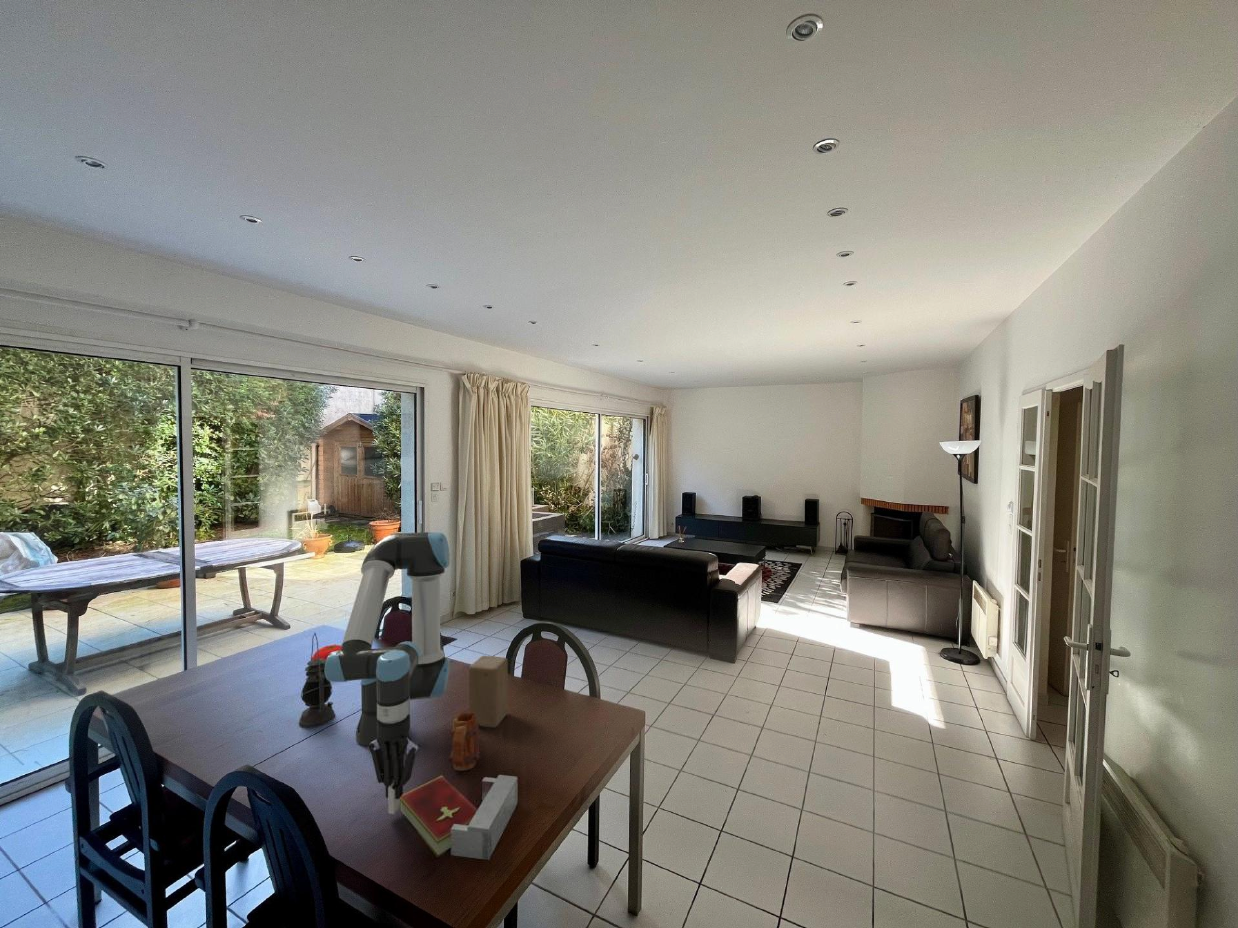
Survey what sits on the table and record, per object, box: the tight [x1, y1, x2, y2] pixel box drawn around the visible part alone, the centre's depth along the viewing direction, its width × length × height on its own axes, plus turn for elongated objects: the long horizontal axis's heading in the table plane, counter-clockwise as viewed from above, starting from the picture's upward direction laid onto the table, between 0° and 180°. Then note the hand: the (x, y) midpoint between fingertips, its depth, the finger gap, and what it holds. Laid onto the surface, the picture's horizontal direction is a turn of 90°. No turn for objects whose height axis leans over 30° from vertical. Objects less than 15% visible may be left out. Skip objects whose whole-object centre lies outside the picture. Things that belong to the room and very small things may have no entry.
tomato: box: [312, 643, 342, 663], centre depth 205 cm, size 14×13×10 cm
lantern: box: [298, 632, 336, 729], centre depth 168 cm, size 12×11×30 cm
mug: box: [448, 711, 482, 771], centre depth 141 cm, size 15×8×15 cm, turn 5°
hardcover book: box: [400, 775, 479, 858], centre depth 122 cm, size 12×21×4 cm, turn 46°
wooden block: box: [468, 655, 509, 728], centre depth 168 cm, size 10×10×20 cm
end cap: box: [450, 774, 519, 861], centre depth 120 cm, size 9×18×7 cm, turn 171°
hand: (394, 809), depth 123 cm, fingers closed
